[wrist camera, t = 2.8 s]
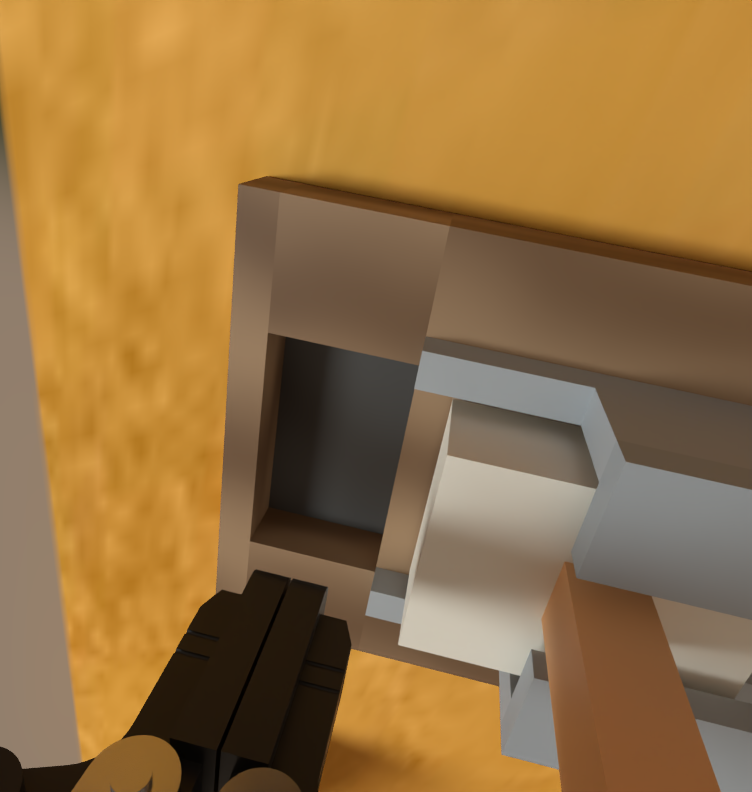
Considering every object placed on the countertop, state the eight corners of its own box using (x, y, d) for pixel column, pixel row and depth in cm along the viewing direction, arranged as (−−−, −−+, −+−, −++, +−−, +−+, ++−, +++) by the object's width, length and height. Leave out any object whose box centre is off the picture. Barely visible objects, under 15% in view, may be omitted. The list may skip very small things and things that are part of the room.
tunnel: (426, 336, 15) (406, 412, 11) (1069, 473, 13) (1295, 611, 10) (370, 590, 18) (342, 712, 15) (867, 713, 17) (974, 879, 14)
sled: (452, 398, 15) (425, 657, 8) (775, 469, 14) (1068, 819, 7) (409, 569, 18) (360, 881, 10) (681, 635, 17) (827, 1013, 10)
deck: (266, 176, 15) (236, 184, 14) (1253, 370, 14) (1375, 411, 12) (236, 573, 22) (213, 616, 20) (912, 741, 20) (957, 805, 18)
